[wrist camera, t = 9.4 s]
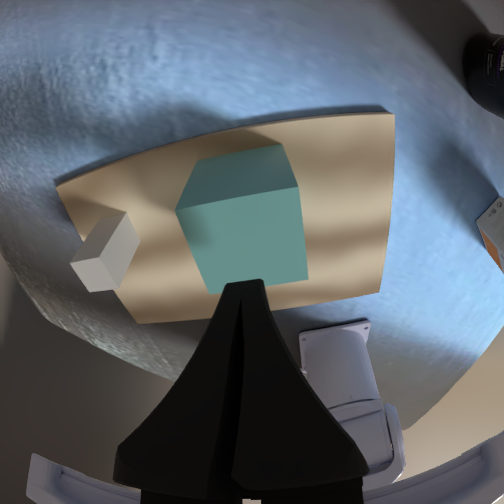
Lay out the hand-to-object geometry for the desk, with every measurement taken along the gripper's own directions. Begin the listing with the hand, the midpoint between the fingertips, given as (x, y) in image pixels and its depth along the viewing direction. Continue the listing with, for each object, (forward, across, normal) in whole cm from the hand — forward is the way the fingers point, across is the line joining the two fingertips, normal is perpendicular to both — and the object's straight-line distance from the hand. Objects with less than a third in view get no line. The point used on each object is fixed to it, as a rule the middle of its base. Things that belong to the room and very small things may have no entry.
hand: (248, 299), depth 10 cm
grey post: (+9, +10, +1) cm, 14 cm away
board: (+10, +2, +4) cm, 11 cm away
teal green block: (+9, 0, 0) cm, 9 cm away
